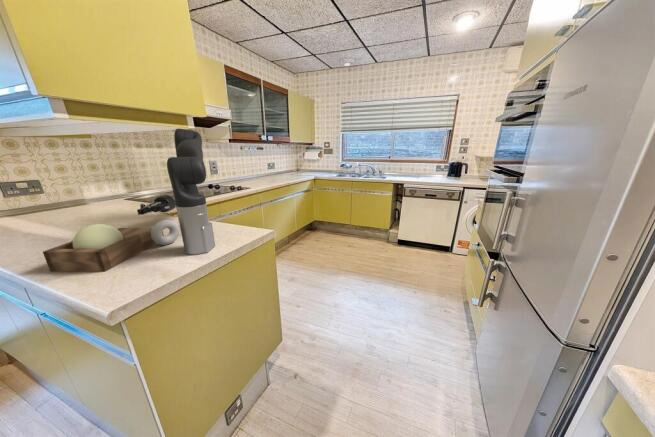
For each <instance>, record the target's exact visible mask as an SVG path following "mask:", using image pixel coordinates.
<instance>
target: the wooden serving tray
mask: <svg viewBox="0 0 655 437" xmlns="http://www.w3.org/2000/svg"><path fill="white" fill-rule="evenodd" d="M152 228H153V227H119V228H117V229H118V230H119V231H120V232H121V234H122V236H123V240H121V241H118V242H116V243H114V244H111V245H109V246H107V247H104V248H102V249H74V248H73V240H72V241H69V242H66V243H63V244H60V245H58V246H55V247H52V248H50V249H47V250H43V251H42V254H43V256H44V259H45V261H46V264H47V267H48V269H49V272H107V271H109V270H111V269H112V268H114V267H117V266H118V265H120V264H122V263H124V262H126V261H127V260H129V259H131V258H133V257H135V256H136V255H138V254H140V253H142V252H144V251H146V250H148V249H149V248H151V247H153V246H155V245H157V243H155V242H154V241H153V239H152V237H151V230H152ZM162 235H163V236H165V235H164V230H163V231H162Z"/></svg>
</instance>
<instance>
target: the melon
mask: <svg viewBox="0 0 655 437" xmlns="http://www.w3.org/2000/svg"><path fill="white" fill-rule="evenodd" d="M118 229H119V228H116V227H115V226H112V225H108V224H104V223H96V224H91V225H87V226H85V227H83V228H81V229H80V230H79V231H77V233H76V234H75V235H74V237H73V238H72V241H73V248H74V249H102V248H104V247H107V246H109V245H111V244H114V243H116V242H118V241H121V240H123V236H122V234H121V232H120V231H119V230H118Z"/></svg>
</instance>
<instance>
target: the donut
mask: <svg viewBox="0 0 655 437" xmlns="http://www.w3.org/2000/svg"><path fill="white" fill-rule="evenodd" d="M151 228H152V230H151V237H152V239H153V241H154V242H155V243H157V244H158V245H160V246H162V245H163V246H166V245H170V244H172V243H174V242H175V241H177V239H178V237H179V235H180V234H181V230H180V225H178V223H177V222H176V221H174V220H172V219H161V220H159V221H157V222H156V223H155V224H154V225H153V226H152V227H151ZM165 229H168V230H169V233H168V234H167V235H164V236H163V235H162V231H163V232H164V230H165ZM157 244H156V245H157Z"/></svg>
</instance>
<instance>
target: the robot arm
mask: <svg viewBox="0 0 655 437" xmlns="http://www.w3.org/2000/svg"><path fill="white" fill-rule="evenodd" d="M173 136H174V139H173V140H174V146H175V154H176V155H175V156H176V157H175V156H172V157H171V156H170V157H168V159H166V160H167V162H166V168H167V174H168V177H169V180H170V185H171V188H172V193H166V194H164V195H160V196H157V197H155V198H154V200H153V201H151V202H150V203H147V204H145V203H140V204H139V205H140V206H139V207H140V208H137V209H136V211H137V215H140V216H141V215H142V216H143V215H145V214H148V213H149V214H152V213H158V212H159V213H167V212H170V211H173V210H175V209H176V213H177V219H178V223H179V230H180V234H181V240H182V244H183V248H184V249H183V250H184V254H187V255H200V254H207V253H209V252H210V251H212V250H213V249H214V248H215V247H216V239H215V235H214V230H213V227H214V226H213V222H210V219H209V212H208V205H207V200H206V197H205V195H204V194H202V193H200V191H199V188H198V185H200V184H204V183H205V181H206V179H207V169H206V165H205V162H204V153H203V148H202V146H203V138H202V135H201V134H200V132H199V131H197V130H192V129H191V130H190V129H185V128H176V129H175V130H174V135H173Z"/></svg>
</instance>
